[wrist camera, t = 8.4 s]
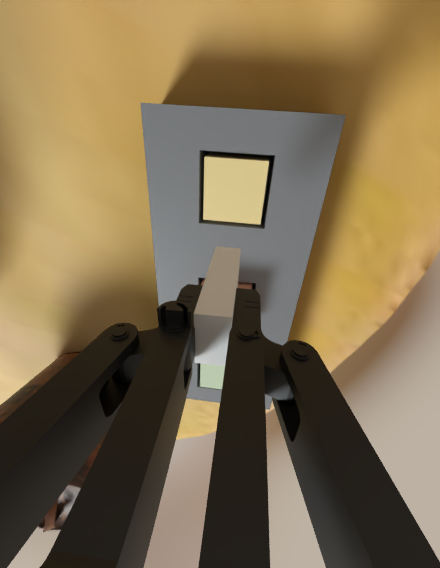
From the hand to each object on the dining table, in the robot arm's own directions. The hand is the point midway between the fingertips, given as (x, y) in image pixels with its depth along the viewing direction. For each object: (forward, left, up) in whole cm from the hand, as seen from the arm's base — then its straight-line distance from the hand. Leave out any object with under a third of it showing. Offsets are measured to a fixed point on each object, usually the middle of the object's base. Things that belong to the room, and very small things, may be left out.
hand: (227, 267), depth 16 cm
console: (+8, 0, -12) cm, 14 cm away
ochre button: (-3, 0, -11) cm, 11 cm away
